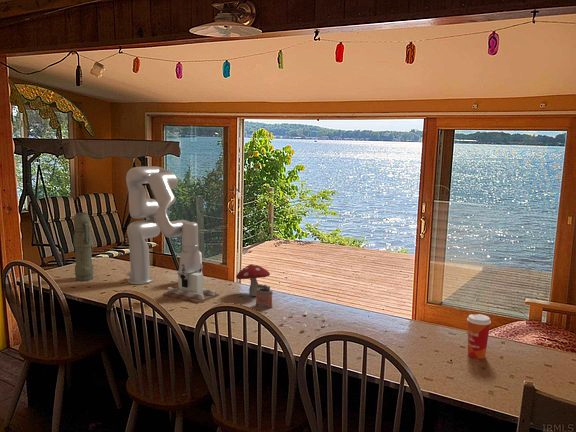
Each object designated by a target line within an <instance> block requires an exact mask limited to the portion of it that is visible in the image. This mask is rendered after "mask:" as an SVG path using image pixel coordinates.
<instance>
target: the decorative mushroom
mask: <svg viewBox="0 0 576 432" xmlns="http://www.w3.org/2000/svg"><path fill="white" fill-rule="evenodd" d="M269 276H271V274H270V272H269V271H268V269H266V268H264V267H263V266H260V265H257V264H254V263H251V264H248V265H246V266H245V267H243V268H242V269H241V270H240V271H239V272H237V274H236V276H235V278H236V279H237V280H249V279H250V284H249V288H248V289H249V291H248V295H249V296H251V297H256V289H260V288H259V287H257V285H258V284H259V282H258V281H257V279H259V278H267V277H269Z"/></svg>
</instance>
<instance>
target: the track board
mask: <svg viewBox="0 0 576 432" xmlns="http://www.w3.org/2000/svg"><path fill="white" fill-rule="evenodd" d="M163 296H165V297H171V298H175V299H177V300H183V301H187V302H192V303H196V304H200V303H203V302H205V301H209V300H211V299H213V298H216V297H219V293H217V292H216V291H215V290H212V289H208V288H203V295H202V294H198V293H193V292H189V291H184V290H180V289H179V287H178V288H175V287H170V286H169V287H167V291H165V292H163Z"/></svg>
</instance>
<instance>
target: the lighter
mask: <svg viewBox="0 0 576 432" xmlns="http://www.w3.org/2000/svg"><path fill="white" fill-rule="evenodd" d="M257 287H259V288H260V289H256V296H255V307H256V308H257V307H258V308H261V309H270V310H271V309H273V290H271V286H270V285H267V284H259V283H258V285H257Z"/></svg>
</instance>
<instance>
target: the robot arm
mask: <svg viewBox="0 0 576 432" xmlns="http://www.w3.org/2000/svg"><path fill="white" fill-rule="evenodd" d="M125 181H126V187H127V190H128V209H129V215H130V217H131V218H132V219H136V220H137V219H145V220H137V221H133V222H131V223H130V224H128V225H127V229H126V233H127V237H128V243H129V244H128V245H129V261H130V262H129V264H130V269H129V270H130V271H128V272H127V273H126V275H127V276H128V277H129V278H128V279H127V283H128V284H131V285H146V284H150V283H152V282H154V279H153V277H151V276H150V275H151V271H150V269H151V268H150V267H151V266H150V247H149V244H148V243H147V241H146V240H147V239H151V238H156V237H158V236H159V235H160V233H162V235H163V236H164V237H165V238H176V237H181V252H180V255H179V267H178V268H179V269H178V270H177V272H176V274H177V275H179V276H180V277H181V279H182V287H185V288H187V287H188V279H187V276H188V274H189V273H193V272H196V273H201V271H202V272H203V267H204V265H203V263H202V264H201V263H200V254H199V251H200V250H199V246H200V245H199V224H198V223H197V222H195V221H189V220H186V219H179V220H178V219H177V220H172V221H171V220H170V219H169V217H168V215H167V210H168V208H169V207H172V205H174V204H175V203H176V201H177V199H176V196H175V195H174V192H173V189H175V188H177V186H178V183H179V181H178V178H177V176H176V174H175V173H174V172H172V171H171V170H169V169H165V168H163V167H161V166H155V165H153V166H148V165H147V166H145V165H144V166H136V167H135V166H134V167H131V168H130V169H129V170H128V171H127V172H126V176H125ZM143 184H149V186H150V189H151V190H152V191H151V192H152V193H153V195H154V198H155V199H154V198H147V192H146V191H147V190H146V188H145V186H143ZM184 274H185V276H184Z"/></svg>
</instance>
